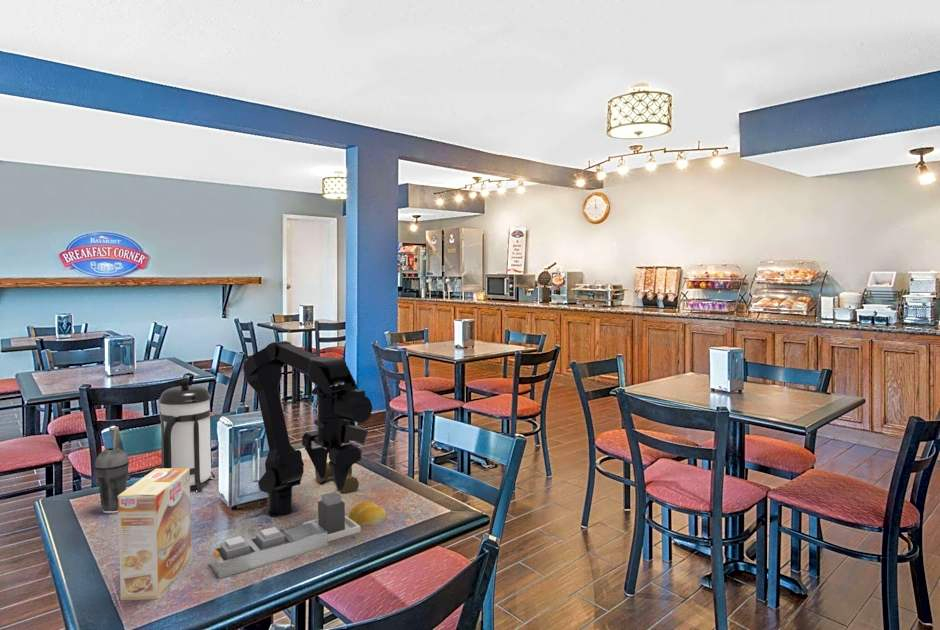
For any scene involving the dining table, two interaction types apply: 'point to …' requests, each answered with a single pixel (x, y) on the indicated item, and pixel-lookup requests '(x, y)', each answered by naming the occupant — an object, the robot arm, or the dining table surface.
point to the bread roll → (367, 514)
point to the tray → (349, 529)
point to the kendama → (350, 482)
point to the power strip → (271, 550)
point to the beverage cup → (111, 475)
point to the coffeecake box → (154, 533)
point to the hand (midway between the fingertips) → (331, 483)
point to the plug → (331, 513)
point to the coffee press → (186, 431)
